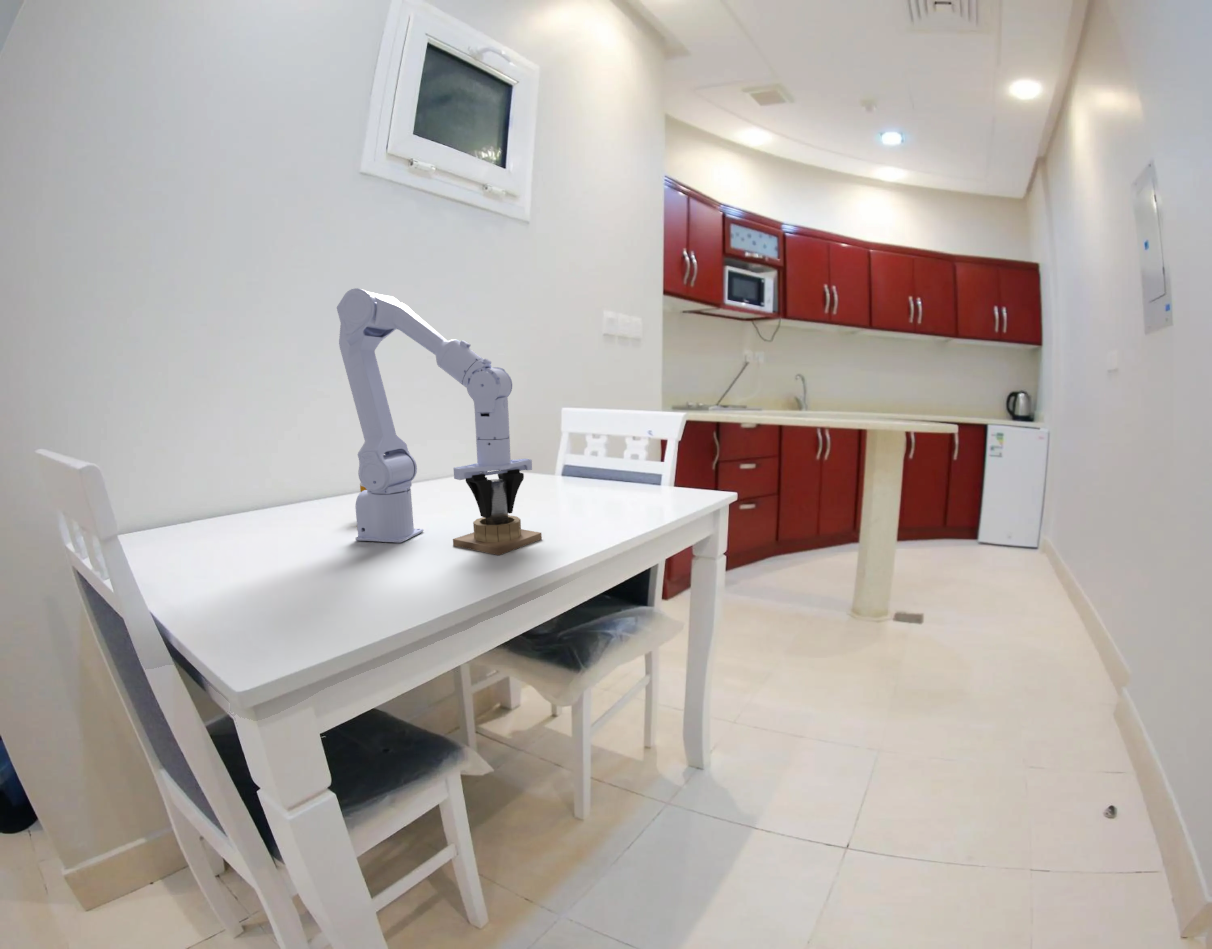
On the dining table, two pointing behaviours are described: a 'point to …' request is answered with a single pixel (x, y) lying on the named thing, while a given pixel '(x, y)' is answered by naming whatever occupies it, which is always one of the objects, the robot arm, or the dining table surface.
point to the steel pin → (498, 503)
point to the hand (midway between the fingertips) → (496, 514)
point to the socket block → (497, 537)
